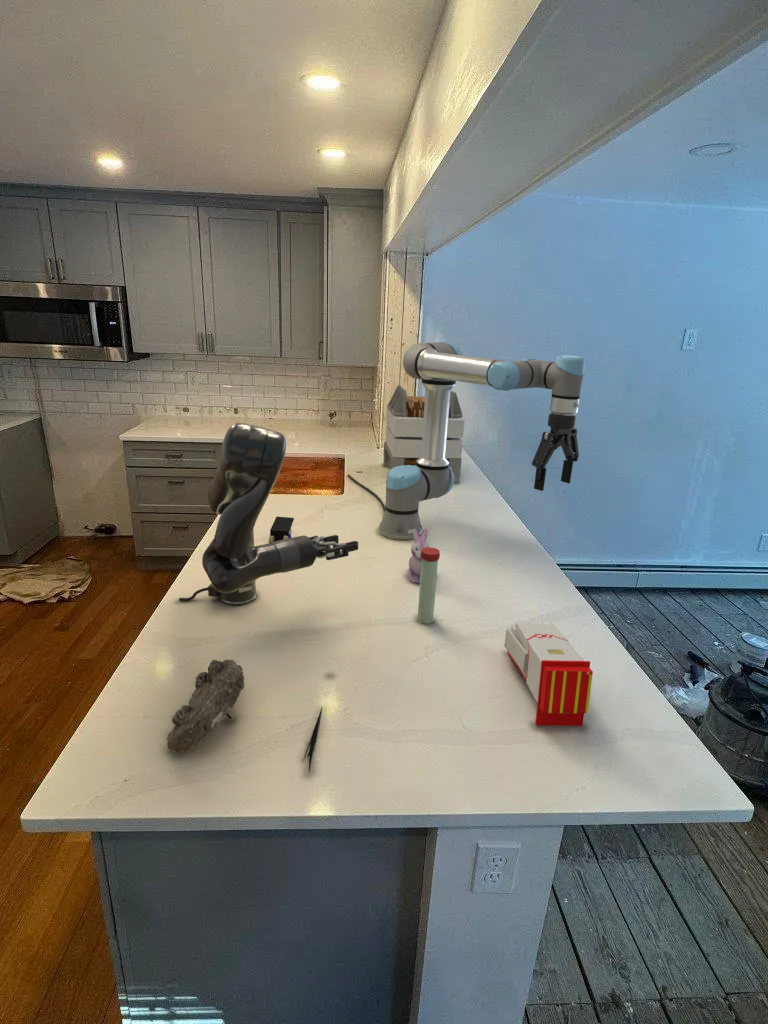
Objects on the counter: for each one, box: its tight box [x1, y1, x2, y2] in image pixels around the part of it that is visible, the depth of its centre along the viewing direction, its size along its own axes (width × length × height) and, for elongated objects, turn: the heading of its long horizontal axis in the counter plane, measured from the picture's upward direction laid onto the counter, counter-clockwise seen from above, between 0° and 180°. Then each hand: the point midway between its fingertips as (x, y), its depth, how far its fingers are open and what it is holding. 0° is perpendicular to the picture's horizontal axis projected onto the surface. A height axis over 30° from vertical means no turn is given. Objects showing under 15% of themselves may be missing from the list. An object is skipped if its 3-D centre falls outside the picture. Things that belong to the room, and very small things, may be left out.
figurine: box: [407, 527, 430, 584], centre depth 166 cm, size 9×10×15 cm
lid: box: [421, 546, 441, 561], centre depth 139 cm, size 5×5×2 cm
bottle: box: [416, 559, 439, 624], centre depth 142 cm, size 4×4×19 cm
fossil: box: [166, 658, 245, 754], centre depth 106 cm, size 22×10×15 cm
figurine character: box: [268, 515, 295, 544], centre depth 185 cm, size 7×8×15 cm
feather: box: [301, 673, 332, 771], centre depth 108 cm, size 2×28×2 cm
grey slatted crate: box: [383, 384, 465, 484], centre depth 268 cm, size 34×33×41 cm
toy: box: [503, 622, 594, 727], centre depth 121 cm, size 12×13×30 cm
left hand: (347, 541), depth 142 cm, fingers open, 8 cm apart
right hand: (552, 485), depth 166 cm, fingers open, 13 cm apart
